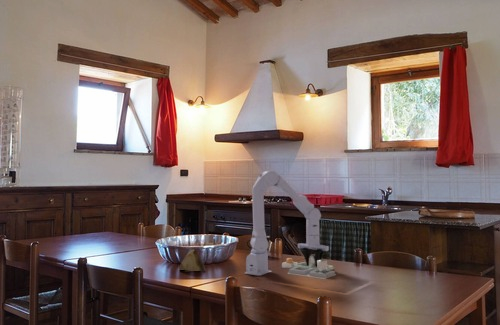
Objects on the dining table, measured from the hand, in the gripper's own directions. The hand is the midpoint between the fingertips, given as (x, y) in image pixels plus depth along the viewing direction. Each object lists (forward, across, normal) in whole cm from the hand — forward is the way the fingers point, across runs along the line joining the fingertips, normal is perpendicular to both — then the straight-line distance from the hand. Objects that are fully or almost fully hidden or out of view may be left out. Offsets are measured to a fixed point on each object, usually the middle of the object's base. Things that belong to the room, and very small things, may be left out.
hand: (313, 266), depth 202 cm
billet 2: (+1, -10, +10) cm, 14 cm away
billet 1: (+1, 0, 0) cm, 1 cm away
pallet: (+2, -5, +10) cm, 11 cm away
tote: (+2, 0, 0) cm, 2 cm away
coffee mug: (+2, +42, -16) cm, 45 cm away
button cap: (+1, +11, +2) cm, 11 cm away
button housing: (+2, +11, +2) cm, 11 cm away
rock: (+2, +43, +32) cm, 54 cm away
